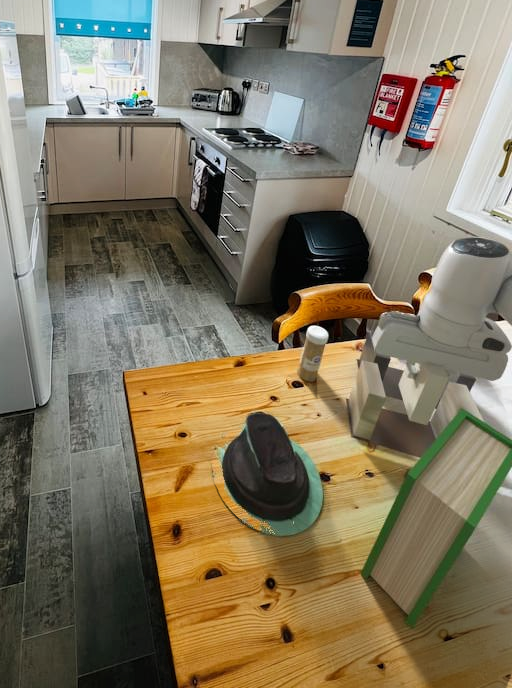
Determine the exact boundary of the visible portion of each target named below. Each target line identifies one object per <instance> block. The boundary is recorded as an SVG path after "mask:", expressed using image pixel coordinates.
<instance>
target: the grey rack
mask: <svg viewBox="0 0 512 688" xmlns="http://www.w3.org/2000/svg"><path fill="white" fill-rule="evenodd" d="M374 332H375V330H372V329H369V330H368V332H367V336H366V338H365V341H364V344H363V348H362V351H361V354H360V357H359V359H358V358H356V363H357V364H356V365H357V369H358V370H359V367H360V364H361V361H362V360H364V361H368V362H372V363H376V364H378V368H379V372H380V376H381V380H382V384H383V388H384V392H385V395H386V397H389V398H393V399H396V400H402V401H403V398H402V394H401V391H400V388H399V385H398V384H399V382H400V379H401V377H402V374H403V372H404V369H398V368H395V367H391V366H390V363H391V359H392V357H389V356H385V355H381V354H378V353H377V352H376V350H375V349H374V347H373V343H372V337H373V334H374ZM476 381H477V377H473V376H469V375H465V374H460V373H456V374H455V376H453V377H451V378H449V380H448V382H447V384H446V386H445V388H444V390H443V392H442V395H441V397H440V399H439V401H438V403H437V405H436V407H435V410H436V409H437V407H438V404H439V402H440V400H441V398H442V396H443V394H444V392H445V389H446V387H447V385H448V383H449V382H453V383H458V384H462V385H466V386H467V388H468V390H469V392H470V393H471V391H472V389H473V387H474V384H475V383H476Z"/></svg>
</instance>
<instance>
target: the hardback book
mask: <svg viewBox="0 0 512 688" xmlns="http://www.w3.org/2000/svg"><path fill="white" fill-rule="evenodd" d="M510 470H512V439H511V438H510V437H508V436H507V435H505V434H503V433H502V432H501V431H499V430H497V429H496V428H494V427H492V426H491V425H490V424H487V423H486V422H485V421H484V422H483V421H481V420H480V419H478V418H477V417H475V416H473V415H472V414H470V413H469V412H467V411H466V410H464V409H461V410H460V411H459V412H458V414H457V415H456V416H455V417H454V418H453V420H452V421H451V422H450V423H449V424H448V426H447V427H446V428H445V429H444V430H443V432H442V433H441V434H440V435H439V436H438V438H437V439H436V440H435V441H434V442H433V444H432V445H431V446H430V447H429V448H428V450H427V451H426V452H425V453H424V454H423V456H422V457H421V458H420V457H419V459H418V460H417V461H416V463H415V464H413V466H412V467H411V468H410V470H408V472H407V474H406V475H405V478H404V480H403V482H402V484H401V486H400V489H399V491H398V493H397V494H396V497H395V499H394V501H393V503H392V506H391V508H390V510H389V511H388V514H387V516H386V518H385V519H384V520H385V521H384V523H383V525H382V526H381V529H380V531H379V533H378V535H377V537H376V539H375V542H374V544H373V546H372V548H371V550H370V552H369V554H368V555H367V556H368V557H367V559H366V561H365V563H364V565H363V567H362V569H361V571H360V573H361V574H362V575H363V576H364V577H365V578H366V579H367V580H368V578H369V577H371V578H372V579H374V581H375V582H376V583H377V584H378V585H379V587H381V589H383V590H384V592H386V593H387V595H388V596H389V597H390V598H391V599H392V600H393V601H394V602H395V603H396V604H397V605H398V606H399V607H400V609H401V610H402V611H403V612H404V613H405V614H406V615H407V617H406V618H405V620H404V622H405V621H406V622H407V623H408V624H409V626H410V627H411V628H412V629H413V627H414V626H415V624H416V623H417V621H418V620H419V618H420V616H421V615H422V614H423V612H424V611H425V609H426V607H427V606H428V604H429V602H430V601H431V600H432V598H433V596H434V595H435V593H436V591H437V589H438V588H439V587H440V585H441V583H442V582H443V581H444V579H445V577H446V576H447V574H448V572H449V571H450V569H452V566H453V565H454V563H455V561H456V560H457V558H458V557H459V555H460V553H461V552H462V551H463V549H464V547H465V546H466V544H467V543H468V541H469V540H470V538H471V536H472V535H473V533H474V532H475V531H476V528H477V527H478V525H479V523H480V521H481V520H482V519H483V517H484V515H485V513H486V512H487V510H488V509H489V506H490V505H491V503H492V501H493V500H494V499H495V496H496V495H497V493H498V492H499V490H500V488H501V487H502V484H503V483H504V481H505V480H506V478H507V476H508V475H509V473H510ZM361 574H360V575H361ZM362 575H361V576H362ZM363 576H362V577H363ZM364 577H363V578H364ZM365 578H364V579H365ZM366 579H365V580H366ZM406 622H405V623H406ZM407 623H406V624H407ZM408 624H407V625H408ZM409 626H408V627H409ZM410 627H409V628H410ZM411 628H410V629H411Z"/></svg>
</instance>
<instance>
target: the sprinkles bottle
mask: <svg viewBox="0 0 512 688" xmlns="http://www.w3.org/2000/svg"><path fill="white" fill-rule="evenodd" d="M305 337H306V338H305V340H304V345H303V348H302V351H301V354H300V359H299V365H298V368H297V370H296V372H297V375H298V377H299V378H300V379H302V380H303V381H305V382H309V383H310V382H311V383H312V382H315V381H316V380H317V376H318V373H319V369H320V366H321V364H322V359H323V355H324V351H325V348H326V344H327V343H328V340H329V332H328V331H327V330H326V329H325V328H323V327H321V326H319V325H310V326H309V327H308V328H307V330H306V334H305Z"/></svg>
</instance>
